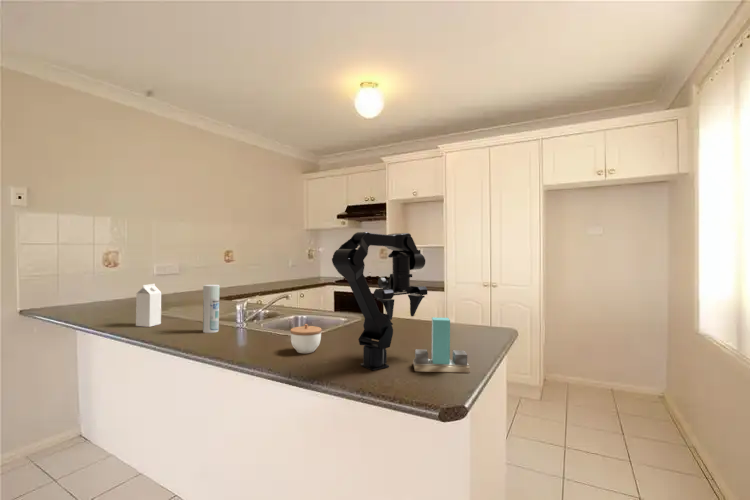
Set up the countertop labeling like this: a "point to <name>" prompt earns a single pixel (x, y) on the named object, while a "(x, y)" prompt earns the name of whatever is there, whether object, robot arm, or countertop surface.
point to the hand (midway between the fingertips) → (401, 317)
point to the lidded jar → (305, 338)
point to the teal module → (440, 340)
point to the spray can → (211, 308)
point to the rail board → (455, 365)
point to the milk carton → (148, 306)
